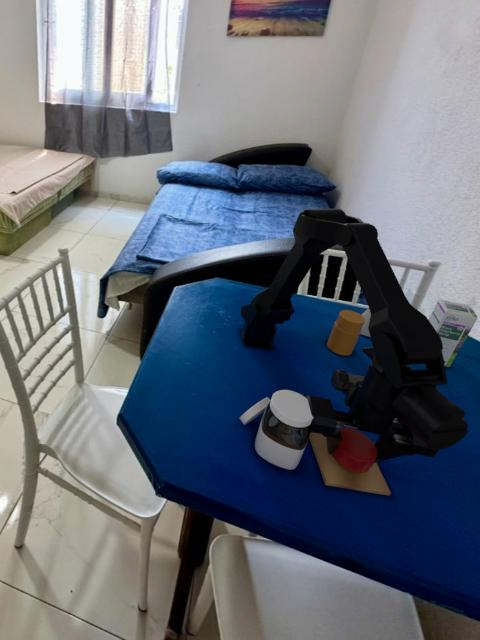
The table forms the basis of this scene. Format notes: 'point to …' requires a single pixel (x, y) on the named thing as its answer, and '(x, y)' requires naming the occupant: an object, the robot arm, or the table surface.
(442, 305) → the syrup box
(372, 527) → the table surface
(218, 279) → the table surface
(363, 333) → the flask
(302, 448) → the spread jar
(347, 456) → the lid
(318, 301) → the table surface
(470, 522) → the table surface
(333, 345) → the orange pill bottle
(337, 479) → the coaster
